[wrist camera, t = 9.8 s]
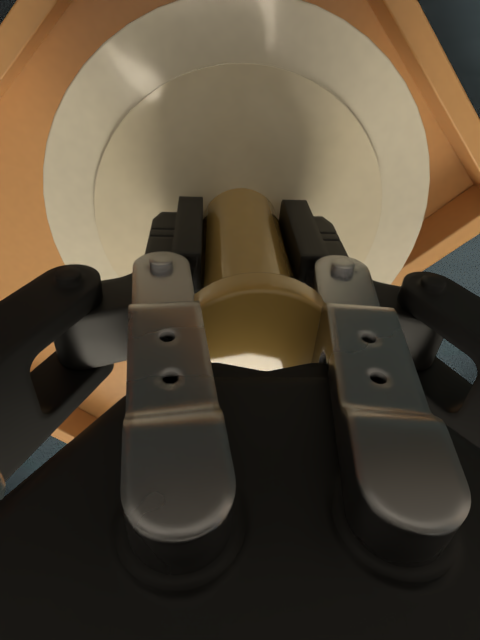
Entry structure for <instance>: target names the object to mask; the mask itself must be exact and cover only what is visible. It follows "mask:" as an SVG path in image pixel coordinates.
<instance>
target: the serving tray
mask: <svg viewBox="0 0 480 640" xmlns="http://www.w3.org/2000/svg"><path fill="white" fill-rule="evenodd" d="M172 1H175V0H17V1H16V2H15V4H14V5H13V7H12V8H11V10H10V11H9V13H8V14H7V15H6V17H5V18H4V20H3V21H2V23H1V24H0V301H1V300H3V299H4V298H6V297H7V296H9V295H10V294H12V293H14V292H15V291H17V290H18V289H20V288H21V287H23V286H24V285H26V284H28V283H29V282H31V281H32V280H34V279H35V278H37V277H39V276H40V275H42V274H43V273H45V272H46V271H48V270H50V269H53V268H55V267H58V266H63V265H65V264H64V262H63V260H62V258H61V256H60V254H59V251H58V249H57V247H56V245H55V242H54V240H53V237H52V233H51V230H50V226H49V223H48V220H47V215H46V209H45V202H44V195H43V164H44V156H45V149H46V142H47V138H48V135H49V131H50V128H51V125H52V121H53V118H54V115H55V113H56V111H57V108H58V106H59V104H60V102H61V100H62V98H63V96H64V93H65V91H66V89H67V88H68V86H69V85H70V83H71V82H72V80H73V79H74V77H75V76H76V74H77V73H78V72H79V70H80V69H81V67H82V66H83V64H84V63H85V62H86V61H87V60H88V59H89V58H90V57H91V56H92V55H93V54H94V53H95V51H96V50H97V49H98V48H99V47H100V46H101V45H102V44H103V43H104V42H105V41H106V40H108V39H109V38H110V37H112V36H113V35H114V34H115V33H117V32H118V31H119V30H121V29H122V28H123V27H124V26H126V25H127V24H128V23H130V22H131V21H133V20H135V19H137V18H139V17H140V16H142V15H144V14H146V13H148V12H150V11H151V10H153V9H155V8H157V7H159V6H161V5H164V4H167V3H169V2H172ZM302 1H305V2H308V3H311V4H315V5H317V6H319V7H321V8H323V9H325V10H327V11H329V12H331V13H333V14H335V15H337V16H339V17H340V18H342V19H344V20H346V21H347V22H348V23H350V24H351V25H352V26H354V27H355V28H356V29H358V30H359V31H360V32H362V33H363V34H365V35H366V36H367V37H369V39H370V40H371V41H372V42H373V43H374V44H375V45H376V46H377V47H378V48H379V49H380V50H381V51H382V52H383V53H384V54H385V55H386V56H387V57H388V58H389V59H390V61H391V62H392V63H393V65H394V66H395V68H396V69H397V71H398V72H399V73H400V75H401V76H402V78H403V79H404V80H405V82H406V84H407V86H408V88H409V90H410V92H411V94H412V96H413V98H414V100H415V102H416V104H417V107H418V110H419V113H420V116H421V119H422V122H423V125H424V129H425V132H426V139H427V145H428V151H429V165H430V184H429V192H428V200H427V207H426V211H425V215H424V218H423V222H422V226H421V229H420V232H419V234H418V237H417V239H416V242H415V244H414V247H413V249H412V251H411V253H410V255H409V257H408V259H407V260H406V262H405V264H404V266H403V268H402V269H401V271H400V272H399V274H398V275H397V276H396V278H395V279H394V281H393V282H392V283H391V285H396V286H401V285H402V282H403V279H404V277H405V276H406V275H407V274H409V273H412V272H422V271H423V270H425V269H426V268H428V267H429V266H431V265H432V264H434V263H435V262H437V261H438V260H440V259H441V258H443V257H444V256H446V255H447V254H449V253H450V252H452V251H453V250H455V249H456V248H458V247H459V246H461V245H462V244H464V243H465V242H467V241H469V240H470V239H472V238H473V237H475V236H476V235H478V234H479V233H480V119H479V117H478V115H477V113H476V111H475V109H474V107H473V106H472V104H471V102H470V100H469V98H468V96H467V94H466V92H465V90H464V88H463V86H462V84H461V83H460V81H459V79H458V77H457V75H456V73H455V71H454V69H453V67H452V65H451V63H450V62H449V60H448V58H447V56H446V54H445V52H444V50H443V48H442V46H441V44H440V42H439V40H438V39H437V37H436V35H435V33H434V31H433V29H432V27H431V25H430V23H429V21H428V19H427V17H426V16H425V14H424V12H423V10H422V8H421V6H420V4H419V2H418V0H302ZM55 351H56V349H55V345H54V342H52V343H51V344H50V345H49V346H47V347H46V348H45V349H44V350H43V351H41V352H40V353H39V354H38V355H37V356H36V357H35V359H34V361H33V362H32V365H31V368H30V372H31V371H32V370H34V369H35V368H36V367H37V366H38V365H40V364H41V363H42V362H43V361H44V360H45V359H47V358H48V357H49V356H50V355H51V354H53V353H54V352H55ZM126 380H127V361H122V362H118V363H114V368H113V370H112V372H111V373H110V374H109V376H108V377H107V378H106V379H105V380H104V381H103V382H102V383H101V384H100V385H99V386H98V387H97V388H96V389H95V390H94V391H93V392H92V393H91V394H90V395H89V396H88V397H87V398H86V399H85V400H84V401H83V402H82V403H81V404H80V405H79V406H78V407H77V408H76V409H75V410H74V412H73V413H72V414H71V415H70V416H69V417H68V418H67V419H66V420H65V421H64V422H63V423H62V424H61V425H60V426H59V427H58V428H57V429H56V430H55V431H54V432H53V433H52V434H51V436H53V437H55V438H57V439H59V440H61V441H63V442H65V443H67V444H68V443H69V442H70V441H71V440H73V439H74V438H75V437H76V436H77V435H79V434H80V433H81V432H82V431H83V430H84V429H86V428H87V427H88V426H89V425H90V424H92V423H93V422H94V421H95V420H96V419H98V418H99V417H100V416H101V415H102V414H103V413H105V412H106V411H107V410H108V409H109V408H111V407H112V406H113V405H114V404H115V403H116V402H118V401H119V400H120V399H121V398H123V397H124V396H125V395H126Z"/></svg>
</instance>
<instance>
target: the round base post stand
mask: <svg viewBox="0 0 480 640" xmlns="http://www.w3.org/2000/svg"><path fill="white" fill-rule="evenodd" d="M429 184H430V165H429V151H428V145H427V139H426V132H425V129H424V125H423V122H422V119H421V116H420V113H419V110H418V107H417V104H416V102H415V100H414V98H413V96H412V94H411V92H410V90H409V88H408V86H407V84H406V82H405V80H404V79H403V78H402V76H401V75H400V73H399V72H398V71H397V69H396V68H395V66H394V65H393V63H392V62H391V61H390V59H389V58H388V57H387V56H386V55H385V54H384V53H383V52H382V51H381V50H380V49H379V48H378V47H377V46H376V45H375V44H374V43H373V42H372V41H371V40H370V39H369V37H367V36H366V35H365V34H363V33H362V32H360V31H359V30H358V29H356V28H355V27H354V26H352V25H351V24H350V23H348V22H347V21H346V20H344V19H342V18H340V17H339V16H337V15H335V14H333V13H331V12H329V11H327V10H325V9H323V8H321V7H319V6H317V5H315V4H311V3H308V2H305V1H302V0H175V1H172V2H169V3H167V4H164V5H161V6H159V7H157V8H155V9H153V10H151V11H150V12H148V13H146V14H144V15H142V16H140V17H139V18H137V19H135V20H133V21H131V22H130V23H128V24H127V25H126V26H124V27H123V28H122V29H121V30H119V31H118V32H117V33H115V34H114V35H113V36H112V37H110V38H109V39H108V40H106V41H105V42H104V43H103V44H102V45H101V46H100V47H99V48H98V49H97V50H96V51H95V53H94V54H93V55H92V56H91V57H90V58H89V59H88V60H87V61H86V62H85V63H84V64H83V66H82V67H81V69H80V70H79V72H78V73H77V74H76V76H75V77H74V79H73V80H72V82H71V83H70V85H69V86H68V88H67V89H66V91H65V93H64V96H63V98H62V100H61V102H60V104H59V106H58V108H57V111H56V113H55V115H54V118H53V121H52V125H51V128H50V131H49V135H48V138H47V142H46V149H45V156H44V164H43V195H44V202H45V209H46V215H47V220H48V223H49V226H50V230H51V233H52V237H53V240H54V242H55V245H56V247H57V249H58V251H59V254H60V256H61V258H62V260H63V262H64V264H65V265H69V264H81V265H87V266H90V267H93V268H94V269H96V270H97V271H98V272H99V274H100V278H101V281H102V280H108V279H114V278H119V277H123V276H126V275H129V274H131V273H133V263H134V261H135V260H136V259H138V258H139V257H141V256H142V255H145V251H146V246H147V242H148V238H149V233H150V229H151V225H152V220H153V218H155V217H156V216H157V215H158V214H159V213H161V212H177V208H178V200H179V196H190V197H203V238H202V275H201V289H200V290H199V291H198V292H197V293H195V294H194V301H197V300H199V301H200V306H201V311H202V316H203V322H204V327H205V333H206V338H207V344H208V349H209V355H210V360H211V363H223V364H228V365H234V366H239V367H244V368H250V369H255V370H260V371H272V370H277V369H282V368H287V367H292V366H297V365H303V364H308V363H311V361H312V356H313V352H314V347H315V341H316V336H317V331H318V326H319V321H320V316H321V310H322V306H323V304H324V301H323V298H322V296H321V295H320V294H319V293H318V292H316V291H315V290H314V289H313V288H311V287H309V286H308V285H306V284H305V283H303V282H301V281H298V280H296V279H294V275H293V272H292V268H291V265H290V261H289V257H288V254H287V250H286V246H285V243H284V239H283V235H282V232H281V228H280V224H279V214H280V206H281V202H282V200H283V199H285V200H306V201H307V202H308V205H309V207H310V210H311V212H312V214H313V216H323V217H324V218H325V219H327V220H328V221H329V222H331V223H332V224H333V226H334V228H335V230H336V232H337V234H338V236H339V238H340V241H341V242H342V244H343V246H344V248H345V250H346V252H347V254H348V256H349V257H351V258H354V259H356V260H358V261H360V262H362V263H363V264H365V265H366V266H367V267H368V269H369V271H370V274H371V277H372V280H374V281H377V282H381V283H386V284H391V283H392V282H393V281H394V279H395V278H396V276H397V275H398V274H399V272H400V271H401V269H402V268H403V266H404V264H405V262H406V260H407V259H408V257H409V255H410V253H411V251H412V249H413V247H414V244H415V242H416V239H417V237H418V234H419V232H420V229H421V226H422V222H423V218H424V215H425V211H426V207H427V200H428V192H429Z"/></svg>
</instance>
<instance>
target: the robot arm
mask: <svg viewBox="0 0 480 640" xmlns="http://www.w3.org/2000/svg"><path fill="white" fill-rule="evenodd" d="M279 224H280V228H281V232H282V235H283V239H284V243H285V246H286V250H287V254H288V257H289V261H290V265H291V268H292V272H293V275H294V279H296V280H298V281H301V282H303V283H305V284H306V285H308V286H309V287H311V288H313V289H314V290H315V291H316V292H318V293H319V294H320V295H321V296H322V298H323V301H324V304H323V306H322V310H321V316H320V321H319V326H318V331H317V336H316V341H315V347H314V352H313V356H312V361H311V363H308V364H303V365H297V366H292V367H287V368H282V369H277V370H272V371H260V370H255V369H250V368H244V367H239V366H234V365H228V364H223V363H211V360H210V355H209V349H208V344H207V338H206V333H205V327H204V322H203V316H202V311H201V306H200V301H199V300H197V301H194V294H195V293H197V292H198V291H199V290H200V289H201V275H202V238H203V197H190V196H179V200H178V208H177V212H161V213H159V214H158V215H157V216H156V217H155V218H153V220H152V225H151V229H150V233H149V238H148V242H147V246H146V251H145V255H142V256H141V257H139V258H138V259H136V260H135V261H134V263H133V273H131V274H129V275H126V276H123V277H119V278H114V279H108V280H102V281H101V278H100V274H99V272H98V271H97V270H96V269H94V268H93V267H90V266H87V265H81V264H69V265H63V266H58V267H55V268H53V269H50V270H48V271H46V272H45V273H43V274H42V275H40V276H39V277H37V278H35V279H34V280H32V281H31V282H29V283H28V284H26V285H24V286H23V287H21V288H20V289H18V290H17V291H15V292H14V293H12V294H10V295H9V296H7V297H6V298H4V299H3V300H1V301H0V640H480V297H478V296H477V295H475V294H473V293H472V292H470V291H468V290H467V289H465V288H463V287H462V286H460V285H459V284H457V283H455V282H454V281H452V280H450V279H448V278H446V277H444V276H442V275H439V274H435V273H431V272H412V273H409V274H407V275H406V276H405V277H404V279H403V282H402V285H401V286H396V285H391V284H386V283H381V282H377V281H374V280H372V277H371V274H370V271H369V269H368V267H367V266H366V265H365V264H363V263H362V262H360V261H358V260H356V259H354V258H351V257H349V256H348V254H347V252H346V250H345V248H344V246H343V244H342V242H341V241H340V238H339V236H338V234H337V232H336V230H335V228H334V226H333V224H332V223H331V222H329V221H328V220H327V219H325V218H324V217H323V216H313V214H312V212H311V210H310V207H309V205H308V202H307V201H306V200H285V199H283V200H282V202H281V206H280V214H279ZM443 338H444V339H446V340H447V341H449V342H450V343H451V344H453V345H454V346H455V347H457V348H458V349H460V350H461V351H462V352H464V353H465V354H467V355H468V356H469V357H470V358H471V359H472V360H473V361H474V363H475V364H476V367H477V371H478V374H477V378H476V380H475V382H474V384H473V385H472V384H471V383H469V382H468V381H467V380H465V379H464V378H463V377H462V376H460V375H459V374H458V373H456V372H455V371H454V370H452V369H451V368H450V367H449V366H447V365H446V364H445V363H443V362H442V361H441V360H439V359H438V358H437V357H436V354H437V352H438V350H439V347H440V345H441V343H442V340H443ZM52 342H54V345H55V349H56V351H55V352H54V353H53V354H51V355H50V356H49V357H48V358H47V359H45V360H44V361H43V362H42V363H41V364H40V365H38V366H37V367H36V368H35V369H34V370H32V371H31V372H30V368H31V365H32V362H33V361H34V359H35V357H36V356H37V355H38V354H39V353H40V352H41V351H43V350H44V349H45V348H46V347H47V346H49V345H50V344H51V343H52ZM122 361H127V380H126V395H125V396H124V397H123V398H121V399H120V400H119V401H118V402H116V403H115V404H114V405H113V406H112V407H111V408H109V409H108V410H107V411H106V412H105V413H103V414H102V415H101V416H100V417H99V418H98V419H96V420H95V421H94V422H93V423H92V424H90V425H89V426H88V427H87V428H86V429H84V430H83V431H82V432H81V433H80V434H79V435H77V436H76V437H75V438H74V439H73V440H71V441H70V442H69V443H68V444H67V445H66V446H64V447H63V448H62V449H61V450H60V451H58V452H57V453H56V454H55V455H54V456H53V457H51V458H50V459H49V460H48V461H47V462H45V463H44V464H43V465H42V466H41V467H39V468H38V469H37V470H36V471H35V472H34V473H32V474H31V475H30V476H29V477H28V478H26V479H25V480H24V481H23V482H22V483H21V484H19V485H18V486H17V487H16V488H15V489H13V490H12V491H11V492H10V493H9V494H7V495H6V496H5V497H4V495H5V489H6V487H5V481H6V480H7V479H8V478H9V477H10V476H11V475H12V474H13V473H14V472H15V471H16V470H17V469H18V468H19V467H20V466H21V465H22V464H23V463H24V462H25V461H26V460H27V459H28V458H29V457H30V456H31V455H32V454H33V453H34V452H35V451H36V449H37V448H38V447H39V446H40V445H41V444H42V443H43V442H44V441H45V440H46V439H47V438H48V437H49V436H50V435H51V434H52V433H53V432H54V431H55V430H56V429H57V428H58V427H59V426H60V425H61V424H62V423H63V422H64V421H65V420H66V419H67V418H68V417H69V416H70V415H71V414H72V413H73V412H74V410H75V409H76V408H77V407H78V406H79V405H80V404H81V403H82V402H83V401H84V400H85V399H86V398H87V397H88V396H89V395H90V394H91V393H92V392H93V391H94V390H95V389H96V388H97V387H98V386H99V385H100V384H101V383H102V382H103V381H104V380H105V379H106V378H107V377H108V376H109V374H110V373H111V372H112V370H113V368H114V363H118V362H122ZM3 497H4V498H3Z"/></svg>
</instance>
